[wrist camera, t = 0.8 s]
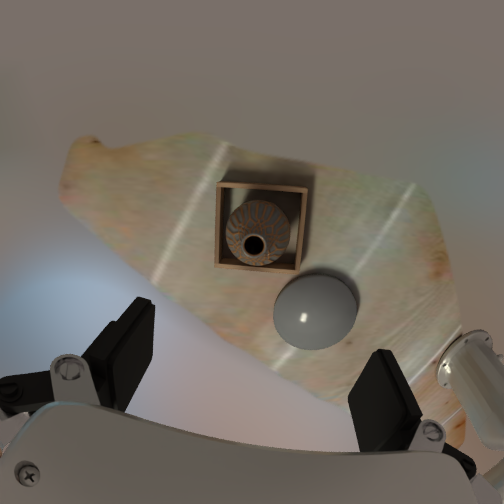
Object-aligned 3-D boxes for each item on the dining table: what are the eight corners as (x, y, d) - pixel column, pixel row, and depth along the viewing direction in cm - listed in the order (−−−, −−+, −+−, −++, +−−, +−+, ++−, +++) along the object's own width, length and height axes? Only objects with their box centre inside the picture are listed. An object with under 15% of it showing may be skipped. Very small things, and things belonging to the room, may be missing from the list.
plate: (362, 276, 35) (364, 280, 34) (345, 346, 39) (347, 351, 38) (277, 270, 36) (277, 273, 35) (270, 342, 39) (269, 347, 38)
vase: (281, 190, 33) (281, 199, 25) (295, 245, 35) (299, 271, 27) (224, 205, 34) (207, 219, 26) (240, 258, 36) (229, 287, 28)
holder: (306, 187, 33) (307, 188, 31) (297, 267, 36) (298, 274, 34) (220, 181, 33) (216, 182, 31) (218, 261, 36) (214, 267, 34)
